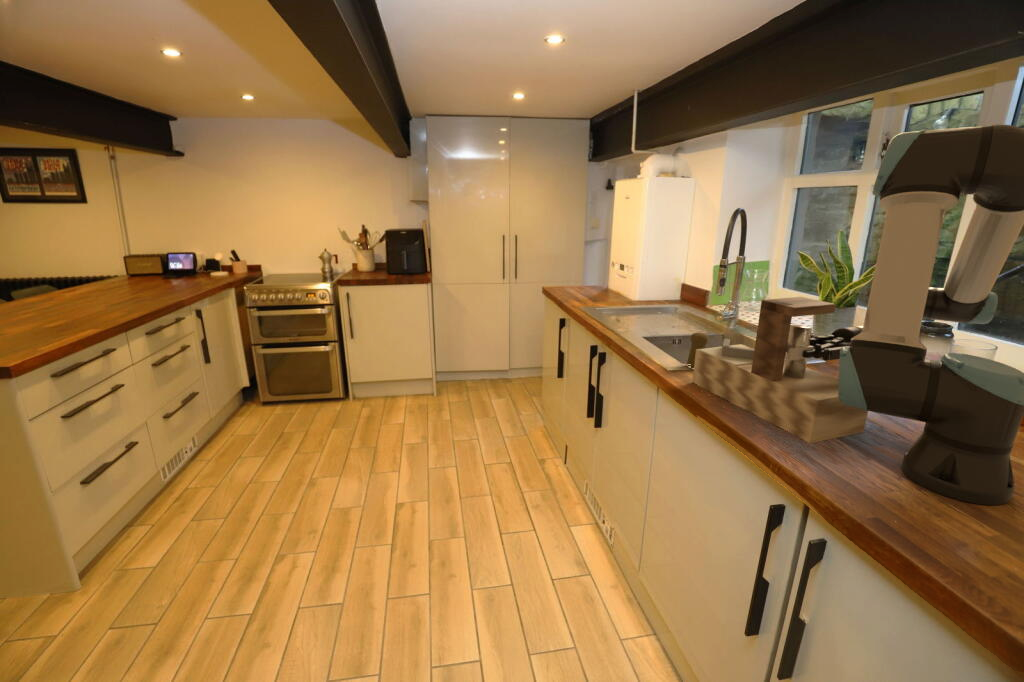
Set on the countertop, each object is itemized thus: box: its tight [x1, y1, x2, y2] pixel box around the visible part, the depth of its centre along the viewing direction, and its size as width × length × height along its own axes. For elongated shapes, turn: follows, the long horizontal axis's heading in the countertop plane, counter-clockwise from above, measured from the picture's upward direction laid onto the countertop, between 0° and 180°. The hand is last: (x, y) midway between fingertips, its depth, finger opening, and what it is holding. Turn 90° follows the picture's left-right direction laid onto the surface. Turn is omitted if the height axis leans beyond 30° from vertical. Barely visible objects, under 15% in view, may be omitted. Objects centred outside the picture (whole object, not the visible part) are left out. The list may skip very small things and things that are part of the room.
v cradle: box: [698, 338, 755, 366], centre depth 127 cm, size 14×14×3 cm
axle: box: [783, 324, 813, 378], centre depth 111 cm, size 4×4×12 cm
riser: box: [692, 343, 869, 444], centre depth 120 cm, size 38×16×10 cm, turn 18°
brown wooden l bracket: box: [751, 296, 837, 382], centre depth 110 cm, size 9×12×18 cm
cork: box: [686, 332, 709, 368], centre depth 147 cm, size 6×6×11 cm
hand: (780, 351), depth 109 cm, fingers closed on axle, 4 cm apart
